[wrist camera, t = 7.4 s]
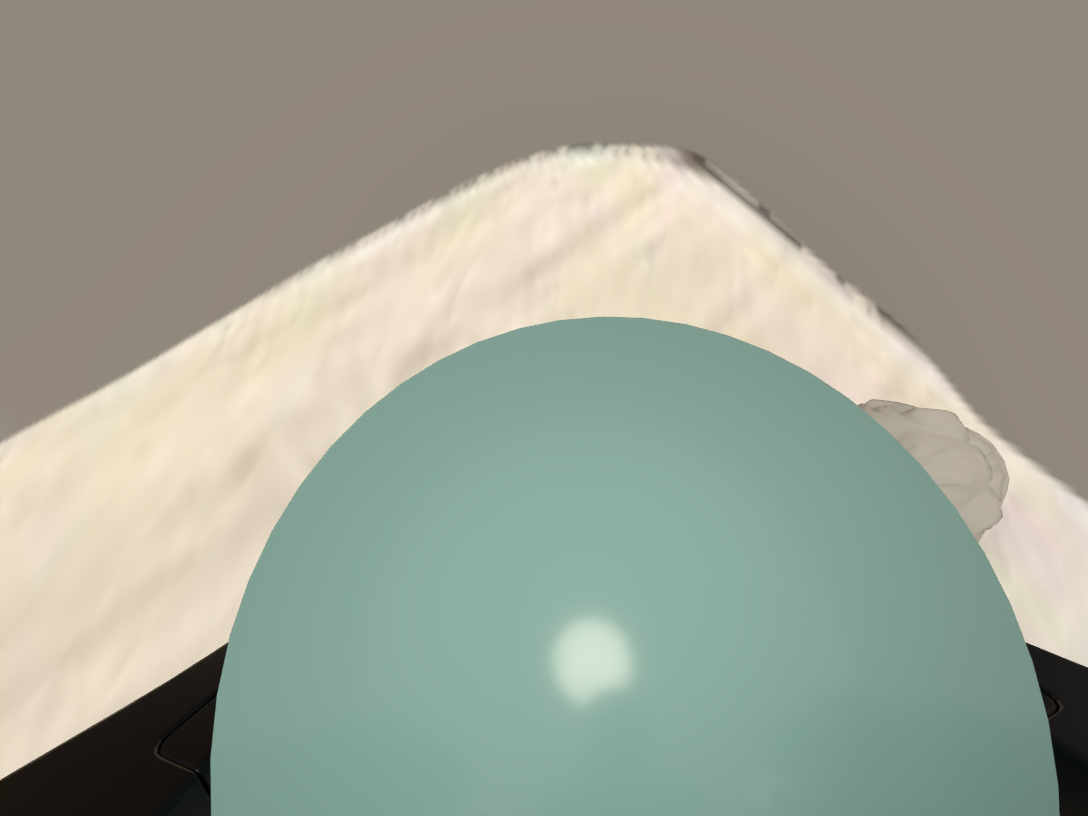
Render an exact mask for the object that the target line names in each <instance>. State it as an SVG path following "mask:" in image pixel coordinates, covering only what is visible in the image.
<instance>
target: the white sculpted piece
mask: <svg viewBox="0 0 1088 816" xmlns="http://www.w3.org/2000/svg"><path fill="white" fill-rule="evenodd" d="M857 406H858V407H860V408H861V409H862V410H863V411H864V412H866V413H867V414H868V415H869V416H871V417H872V418H873V419H874V420H875V421H877V422H878V423H879V424H880V425H881V426H883V427H884V428H885V429H886V430H887V431H888V432H889V433H890V434H891V435H892V436H893V437H894V438H895V439H896V440H897V441H898V442H899V443H900V444H901V445H902V446H903V447H904V448H905V449H906V450H907V451H908V452H909V453H910V454H911V455H912V456H913V457H914V458H915V459H916V460H917V461H918V462H919V463H920V464H921V465H922V467H923V468H924V469H925V470H926V472H927V473H928V474H929V475H930V477H931V478H932V479H933V480H934V482H935V483H936V484H937V485H938V487H939V488H940V489H941V490H942V492H943V493H944V494H945V495H946V497H947V498H948V499H949V500H950V502H951V503H952V504H953V505H954V507H955V508H956V510H957V511H958V513H959V514H960V516H961V517H962V519H963V520H964V522H965V524H966V525H967V527H968V528H969V530H970V531H971V533H972V534H973V536H974V538H975V539H976V541H977V542H978V541H979V540H980V538H981V537H982V535H983V534H984V532H985V531H986V530H988V529H990V528H991V527H992V526H993V525H995V524H997V523H998V522H999V521H1000V520H1001V518H1002V517H1003V516H1002V510H1001V505H1002V503H1003V500H1004V498H1005V496H1006V493H1007V489H1008V484H1009V476H1008V473H1007V469H1006V466H1005V463H1004V460H1003V458H1002V457H1001V455H1000V454H999V453H998V451H997V450H996V448H995V447H994V445H993V444H992V443H991V442H989V441H988V440H987V439H985V438H984V437H982V436H981V435H980V434H978V433H976V432H974V431H972V430H970V429H968V428H966V427H964V425H963V424H962V422H961V421H960V420H959V418H958V417H957V416H956V414H955V413H952V412H950V411H947V410H938V409H928V408H917V407H914V406H911V405H907V404H903V403H898V402H891V401H884V400H876V399H872V400H870V401H868V402H866V403H865V404H860V405H857Z"/></svg>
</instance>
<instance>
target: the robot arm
mask: <svg viewBox="0 0 1088 816" xmlns="http://www.w3.org/2000/svg"><path fill="white" fill-rule="evenodd" d="M228 643H229V642H228ZM228 643H226V644H225V645H223V646H222V647H220V648H219V649H217V650H216V651H214V652H213V653H211V654H209V655H208V656H206V657H205V658H203V659H202V660H200V661H199V662H197V663H195V664H194V665H192V666H191V667H189V668H188V669H186V670H185V671H183V672H181V673H180V674H178V675H177V676H175V677H174V678H172V679H170V680H169V681H167V682H166V683H164V684H162V685H161V686H159V687H157V688H156V689H154V690H152V691H151V692H149V693H147V694H146V695H144V696H142V697H140V698H139V699H137V700H135V701H134V702H132V703H130V704H129V705H127V706H125V707H124V708H122V709H120V710H119V711H117V712H115V713H114V714H112V715H110V716H108V717H107V718H105V719H103V720H102V721H100V722H98V723H96V724H95V725H93V726H91V727H90V728H88V729H86V730H85V731H83V732H81V733H79V734H78V735H76V736H74V737H73V738H71V739H69V740H67V741H66V742H64V743H62V744H61V745H59V746H57V747H56V748H54V749H52V750H50V751H49V752H47V753H45V754H44V755H42V756H40V757H38V758H37V759H35V760H33V761H32V762H30V763H28V764H27V765H25V766H23V767H21V768H20V769H18V770H16V771H15V772H13V773H11V774H9V775H8V776H6V777H4V778H3V779H1V780H0V816H211V761H210V759H211V749H212V739H213V729H214V720H215V710H216V700H217V693H218V688H219V684H220V679H221V675H222V670H223V665H224V661H225V656H226V652H227V647H228ZM1025 643H1026V642H1025ZM1026 646H1027V648H1028V651H1029V654H1030V656H1031V659H1032V662H1033V665H1034V669H1035V673H1036V677H1037V680H1038V684H1039V688H1040V692H1041V695H1042V699H1043V703H1044V707H1045V710H1046V714H1047V718H1048V722H1049V728H1050V735H1051V741H1052V748H1053V754H1054V761H1055V767H1056V774H1057V780H1058V790H1059V816H1088V667H1085V666H1082V665H1080V664H1077V663H1075V662H1072V661H1070V660H1067V659H1065V658H1063V657H1060V656H1058V655H1055V654H1053V653H1050V652H1048V651H1045V650H1043V649H1041V648H1038V647H1036V646H1033V645H1031V644H1028V643H1026Z"/></svg>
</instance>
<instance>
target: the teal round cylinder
mask: <svg viewBox="0 0 1088 816" xmlns="http://www.w3.org/2000/svg"><path fill="white" fill-rule="evenodd" d="M210 761H211V816H1059V790H1058V780H1057V774H1056V767H1055V761H1054V754H1053V748H1052V741H1051V735H1050V728H1049V722H1048V718H1047V714H1046V710H1045V707H1044V703H1043V699H1042V695H1041V692H1040V688H1039V684H1038V680H1037V677H1036V673H1035V669H1034V665H1033V662H1032V659H1031V656H1030V654H1029V651H1028V648H1027V646H1026V643H1025V640H1024V638H1023V635H1022V633H1021V630H1020V627H1019V625H1018V622H1017V620H1016V617H1015V614H1014V612H1013V609H1012V607H1011V604H1010V602H1009V600H1008V598H1007V596H1006V594H1005V592H1004V590H1003V588H1002V586H1001V584H1000V583H999V581H998V579H997V577H996V575H995V573H994V571H993V569H992V567H991V565H990V563H989V561H988V559H987V557H986V555H985V553H984V551H983V550H982V548H981V547H980V545H979V544H978V542H977V541H976V539H975V538H974V536H973V534H972V533H971V531H970V530H969V528H968V527H967V525H966V524H965V522H964V520H963V519H962V517H961V516H960V514H959V513H958V511H957V510H956V508H955V507H954V505H953V504H952V503H951V502H950V500H949V499H948V498H947V497H946V495H945V494H944V493H943V492H942V490H941V489H940V488H939V487H938V485H937V484H936V483H935V482H934V480H933V479H932V478H931V477H930V475H929V474H928V473H927V472H926V470H925V469H924V468H923V467H922V465H921V464H920V463H919V462H918V461H917V460H916V459H915V458H914V457H913V456H912V455H911V454H910V453H909V452H908V451H907V450H906V449H905V448H904V447H903V446H902V445H901V444H900V443H899V442H898V441H897V440H896V439H895V438H894V437H893V436H892V435H891V434H890V433H889V432H888V431H887V430H886V429H885V428H884V427H883V426H881V425H880V424H879V423H878V422H877V421H875V420H874V419H873V418H872V417H871V416H869V415H868V414H867V413H866V412H864V411H863V410H862V409H861V408H860V407H858V406H857V405H856V404H855V403H854V402H852V401H851V400H850V399H849V398H847V397H846V396H844V395H843V394H841V393H840V392H838V391H837V390H835V389H834V388H832V387H831V386H829V385H828V384H826V383H825V382H823V381H822V380H820V379H819V378H817V377H816V376H814V375H813V374H811V373H810V372H808V371H806V370H804V369H802V368H800V367H798V366H796V365H794V364H792V363H790V362H788V361H786V360H785V359H783V358H781V357H779V356H777V355H775V354H773V353H771V352H769V351H767V350H764V349H761V348H759V347H756V346H754V345H751V344H749V343H746V342H743V341H741V340H738V339H736V338H733V337H730V336H728V335H724V334H721V333H717V332H713V331H709V330H705V329H702V328H698V327H694V326H690V325H686V324H680V323H674V322H667V321H660V320H653V319H646V318H625V317H593V318H581V319H569V320H559V321H554V322H549V323H544V324H539V325H534V326H529V327H525V328H520V329H516V330H513V331H510V332H507V333H504V334H501V335H498V336H495V337H492V338H489V339H486V340H483V341H480V342H477V343H475V344H473V345H471V346H469V347H467V348H464V349H462V350H460V351H458V352H456V353H454V354H452V355H449V356H447V357H445V358H443V359H441V360H439V361H437V362H435V363H434V364H432V365H431V366H429V367H427V368H426V369H424V370H423V371H421V372H419V373H418V374H416V375H415V376H413V377H411V378H410V379H408V380H406V381H405V382H403V383H402V384H400V385H399V386H398V387H396V388H395V389H394V390H393V391H391V392H390V393H389V394H388V395H386V396H385V397H384V398H383V399H381V400H380V401H379V402H378V403H376V404H375V405H374V406H373V407H371V408H370V409H369V410H367V411H366V412H365V413H364V414H363V415H362V416H361V417H360V418H359V419H358V420H357V421H356V422H355V423H354V424H353V425H352V426H351V427H350V428H349V429H348V430H347V431H346V432H345V433H344V434H343V435H342V436H341V437H340V438H339V439H338V440H337V441H336V442H335V443H334V444H333V445H332V446H331V447H330V448H329V450H328V451H327V452H326V454H325V455H324V456H323V457H322V459H321V460H320V461H319V462H318V464H317V465H316V466H315V467H314V469H313V470H312V471H311V473H310V474H309V475H308V476H307V478H306V479H305V480H304V481H303V483H302V484H301V485H300V487H299V488H298V490H297V491H296V493H295V495H294V496H293V498H292V500H291V501H290V503H289V504H288V506H287V508H286V509H285V511H284V512H283V514H282V516H281V517H280V519H279V521H278V522H277V524H276V525H275V527H274V529H273V530H272V532H271V534H270V537H269V539H268V541H267V543H266V545H265V547H264V549H263V551H262V553H261V556H260V558H259V560H258V562H257V564H256V566H255V568H254V570H253V573H252V575H251V577H250V579H249V581H248V584H247V587H246V590H245V593H244V596H243V599H242V602H241V605H240V608H239V611H238V614H237V617H236V619H235V622H234V625H233V628H232V631H231V634H230V638H229V643H228V647H227V652H226V656H225V661H224V665H223V670H222V675H221V679H220V684H219V688H218V693H217V700H216V710H215V720H214V729H213V739H212V749H211V759H210Z"/></svg>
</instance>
